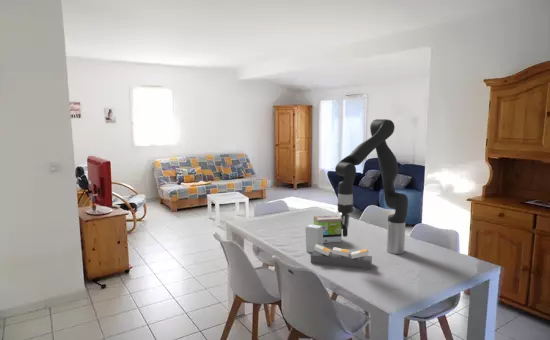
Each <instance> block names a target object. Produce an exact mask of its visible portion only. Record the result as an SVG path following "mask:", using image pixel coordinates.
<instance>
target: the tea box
mask: <svg viewBox="0 0 550 340" xmlns="http://www.w3.org/2000/svg"><path fill="white" fill-rule="evenodd" d="M313 225H320V226H323V244H324V243H326V244H328V243H329V244H330V243H342V237H343V229H342V227H341V216H339V215H337V214H335V215H331V214H330V215H314V216H313Z"/></svg>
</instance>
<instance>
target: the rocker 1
mask: <svg viewBox="0 0 550 340" xmlns="http://www.w3.org/2000/svg"><path fill="white" fill-rule="evenodd" d="M314 250H315V251H318V252H320V253H322V254H325V255H327V256H328V255H329V254H330V252H332V249H330V248H327V247H325V246H324V245H323V246H320V245H318V244H316V245H315V247H314Z"/></svg>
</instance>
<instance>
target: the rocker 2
mask: <svg viewBox="0 0 550 340" xmlns="http://www.w3.org/2000/svg"><path fill="white" fill-rule="evenodd" d="M331 252H332V253H333V254H338V255H342V256H347V257H348V255H349V254H350V249H345V248H339V247H335V246H334V247H333V248H332V249H331Z"/></svg>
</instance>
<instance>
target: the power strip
mask: <svg viewBox="0 0 550 340" xmlns="http://www.w3.org/2000/svg"><path fill="white" fill-rule="evenodd" d="M310 263H311V264H320V265H327V266H337V267H345V268H352V269H354V268H355V269H362V270H371V268H372V263H373V256H372V255H368V256H363V257H358V258H353V259H352V257H351V253H349V255H348V257H347V256H342V255H338V254H333V253H332V251H330V254H329V255H328V256H327V255H325V254H322V253H320V252H318V251H315V250H314V251H313V253H311V254H310Z"/></svg>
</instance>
